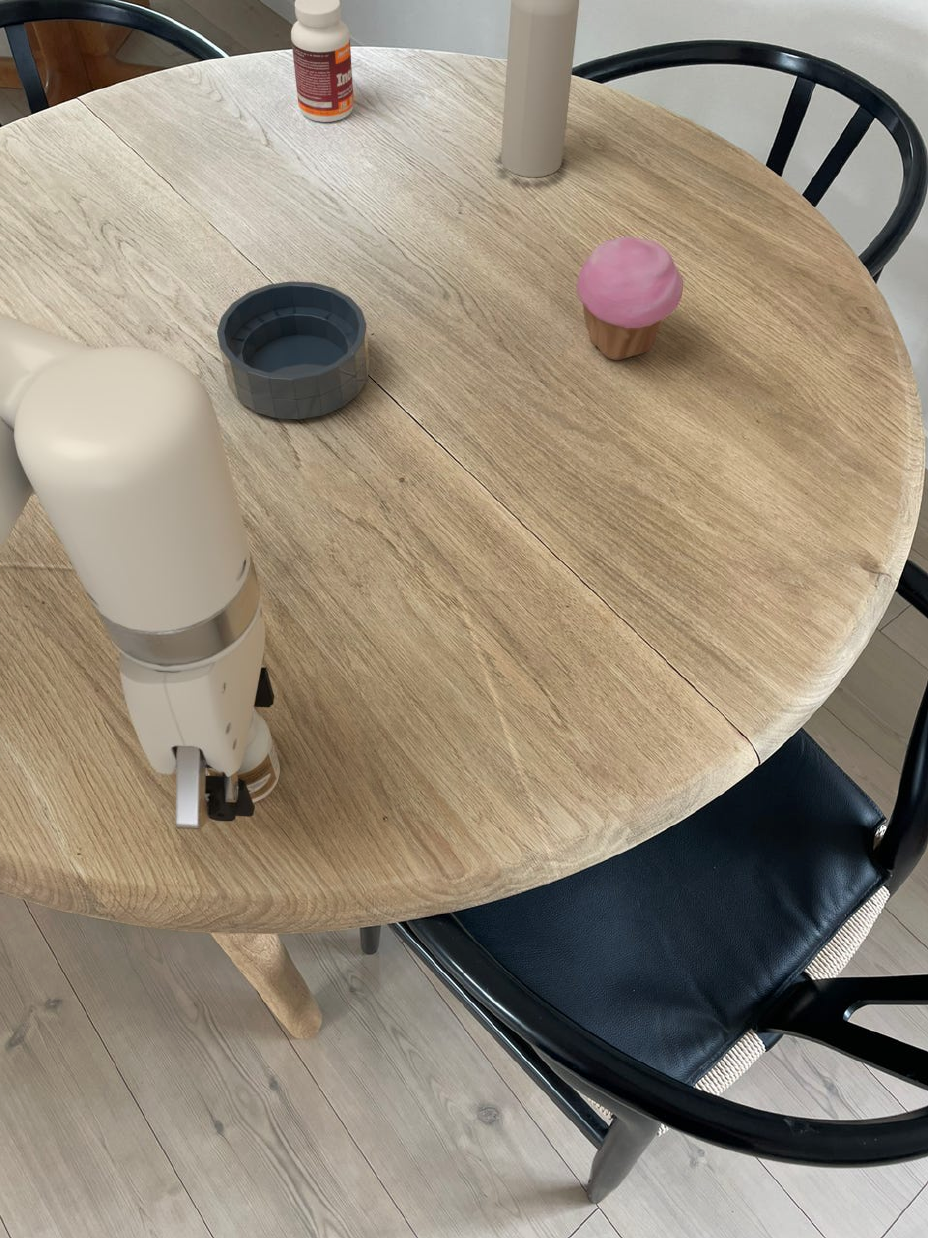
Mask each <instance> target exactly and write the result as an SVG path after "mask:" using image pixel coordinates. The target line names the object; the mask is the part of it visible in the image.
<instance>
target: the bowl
mask: <svg viewBox="0 0 928 1238" xmlns="http://www.w3.org/2000/svg"><path fill="white" fill-rule="evenodd" d="M216 335H217V341H218V345H219V350H220V354H221V359H222V364H223V367H224V371H225V376H226V380H227V385H228V388H229V390H230V391H231V392H232V394H233V395H234V396H235V397H236V399H237V400H238V401H239V403H241V404H243V405H244V406H245V407H247V408H249V409H250V410H252V411H253V412H255V413H257V414H260V415H261V414H262V415H264V416H268V417H270V418H274V419H285V420H287V419H288V420H303V419H304V420H305V419H309V418H315V417H320V416H324V415H328V414H329V413H331V412H334V411H336V410H339V409H341V408H343V407H344V406H345V405H347V404H348V403H349V402H351V401H352V400H353V399H354V398H356V397H357V396H358V395H359V393H360V392H361V390H362V389H363V387H364V386H365V384H366V383H367V382H368V378H369V371H370V352H369V351H370V350H369V339H368V337H369V336H368V324H367V322H366V318H365V315H364V313H363V310H362V309H361V307H360V306H359V305H358V304H357V302H355V301H354V299H352V297H351V296H349V295H347V294H346V293H344V292H342V291H341V290H338V289H336V288H334V287H332V286H328V285H325V284H321V283H317V282H314V281H313V282H312V281H310V282H309V281H295V280H293V281H291V280H290V281H283V282H277V283H270V284H266V285H264V286H261V287H257V288H256V289H255V288H254V289H253V290H251V291H248V292H247V293H245V294H244V295H242V296H241V297H239V298H238V299H235V301H233V302H232V303H231V304H230V305H229V307H228V308H227V309H226V310H225V311H224V313H223V314H222V315H221V317H220V320H219V324H218V327H217V330H216Z"/></svg>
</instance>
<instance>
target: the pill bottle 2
mask: <svg viewBox="0 0 928 1238" xmlns="http://www.w3.org/2000/svg"><path fill="white" fill-rule="evenodd" d="M341 8H342V7H341V1H340V0H295V1H294V15H295V18H296V20H297V21H295V22H294V24H293V25H292V27H291V30H290V41H291V48H292V49H291V50H292V58H293V60H292V61H293V67H294V68H293V69H294V79H295V87H296V97H297V104H298V108H299V111H300V112H301V114H302V115H303V116H304V117H306V118H307V119H310V120H312V121H314V122H321V123H329V122H331V123H332V122H336V121H340V120H343V119H345V118H347V117H348V116H350V115H351V113H352V112H353V110H354V106H355V105H354V104H355V102H354V101H355V100H354V99H355V98H354V84H353V83H354V82H353V69H352V68H353V67H352V52H351V37H350V31H349V28H348V26H347V24H346V23H345V22H344V21H343V20H341V19H342V9H341Z"/></svg>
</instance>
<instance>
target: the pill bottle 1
mask: <svg viewBox="0 0 928 1238" xmlns="http://www.w3.org/2000/svg"><path fill="white" fill-rule="evenodd" d="M272 737H273V736H272V734H271V731H270V728H269V725H268V723H267V722H266V721H265V718H263V716H261V715H260V714H259V713H257V712H256V711H255V707H254V708H253V713H252V718H251V724H250V729H249V734H248V738H247V743H246V748H245V753H244V757H243V760H242V764H241V766H240V768H239V769H238V771H237V773H238V779H242V780H244V781H245V783H246V786H247V788H248V791H249V793H250V796H251V799H252V801H253V804H255V803H257V802H259V801H261V800H263V799H264V798H266V797H267V796H268V795H269V794H270V793H272V792H273V790H274V789H275V787H276V786H277V784H278V781H279V779H280V774H281V766H280V760H279V758H278V753H277V750H276V747H275V744H274V741H273V738H272ZM206 773H207V774H208V776H222V772H218V771H216V770H215V769H213V768H206Z"/></svg>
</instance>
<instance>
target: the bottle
mask: <svg viewBox="0 0 928 1238" xmlns="http://www.w3.org/2000/svg"><path fill="white" fill-rule="evenodd" d="M510 1H511V2H510V15H509V16H510V17H509V29H508V45H507V58H506V73H505V74H506V75H505V87H504V100H503V102H504V103H503V115H502V131H501V148H500V149H501V151H500V162H501V165H502V166H503V167H504V168H505V169H506V170H507V171H509V172H511V173H512V174H515V175H518V176H520V177H524V178H526V177H529V178H543V177H547V176H551V175H552V174H554V173H556V172H557V171H559V169H560V168H561V166H562V163H563V156H564V155H563V154H564V147H565V138H566V131H567V121H568V113H569V103H570V94H571V83H572V74H573V65H574V55H575V47H576V46H575V45H576V37H577V26H578V17H579V8H580V0H510Z"/></svg>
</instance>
